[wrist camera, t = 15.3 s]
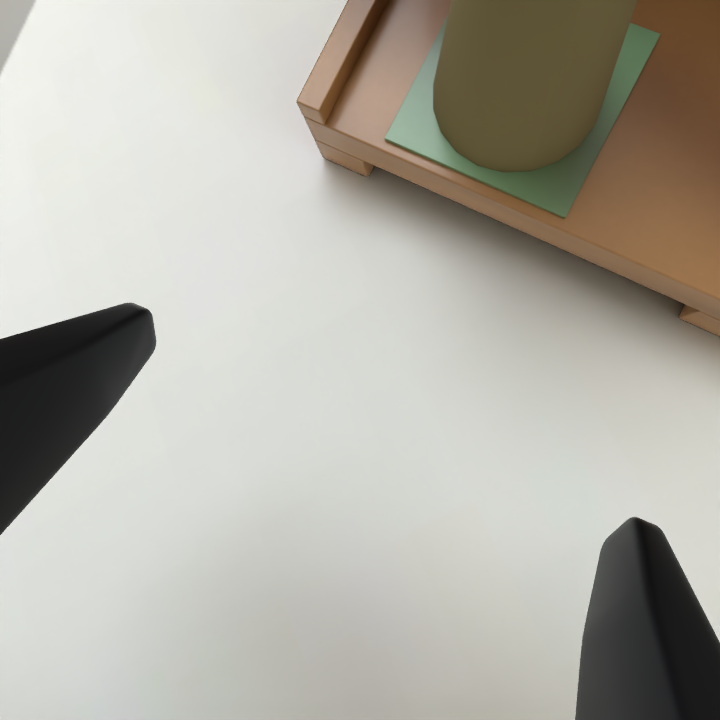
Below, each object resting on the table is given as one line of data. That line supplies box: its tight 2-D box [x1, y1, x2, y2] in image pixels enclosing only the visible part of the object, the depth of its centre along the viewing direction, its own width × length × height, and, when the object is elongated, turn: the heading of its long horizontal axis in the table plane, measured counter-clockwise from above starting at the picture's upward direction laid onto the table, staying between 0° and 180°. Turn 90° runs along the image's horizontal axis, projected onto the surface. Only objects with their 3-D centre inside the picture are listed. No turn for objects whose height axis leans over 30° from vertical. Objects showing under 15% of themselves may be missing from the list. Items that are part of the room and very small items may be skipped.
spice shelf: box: [297, 0, 720, 336], centre depth 15 cm, size 11×19×13 cm, turn 62°
